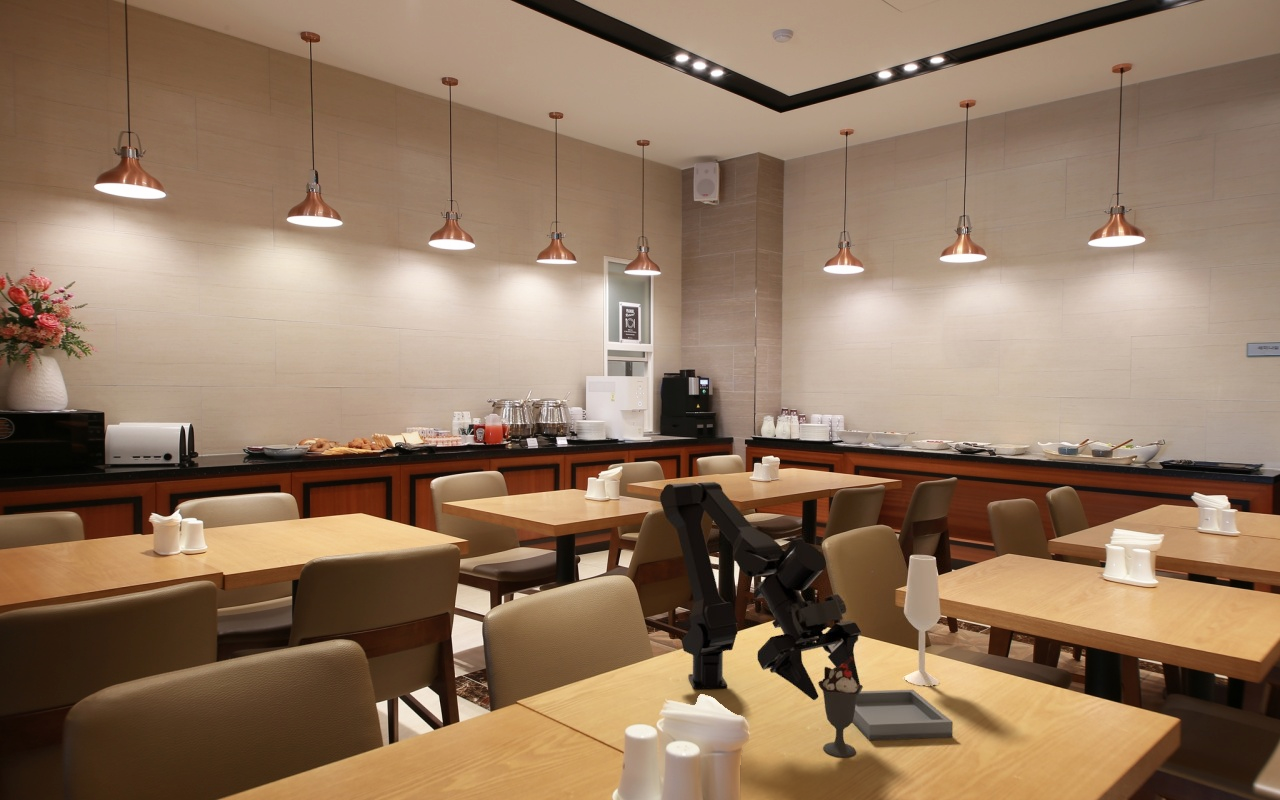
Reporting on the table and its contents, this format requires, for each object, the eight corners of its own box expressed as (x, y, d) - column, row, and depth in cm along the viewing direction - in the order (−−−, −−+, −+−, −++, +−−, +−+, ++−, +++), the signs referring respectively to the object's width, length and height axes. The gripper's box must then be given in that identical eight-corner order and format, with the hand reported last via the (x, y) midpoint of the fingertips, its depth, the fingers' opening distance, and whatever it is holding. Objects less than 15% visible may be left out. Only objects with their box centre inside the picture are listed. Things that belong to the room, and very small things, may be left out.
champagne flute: (902, 683, 149) (903, 559, 149) (904, 672, 156) (905, 552, 156) (939, 688, 147) (940, 562, 147) (940, 677, 153) (941, 555, 153)
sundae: (864, 762, 117) (864, 662, 117) (818, 757, 118) (819, 659, 118) (860, 743, 123) (861, 648, 123) (817, 739, 125) (818, 645, 125)
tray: (837, 705, 138) (837, 691, 138) (913, 703, 140) (913, 689, 140) (869, 740, 124) (869, 724, 124) (952, 737, 126) (952, 721, 126)
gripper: (769, 585, 121) (821, 678, 111) (852, 572, 131) (907, 656, 121) (736, 624, 127) (783, 714, 118) (818, 608, 137) (867, 690, 128)
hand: (837, 692), depth 121 cm, fingers open, 9 cm apart
